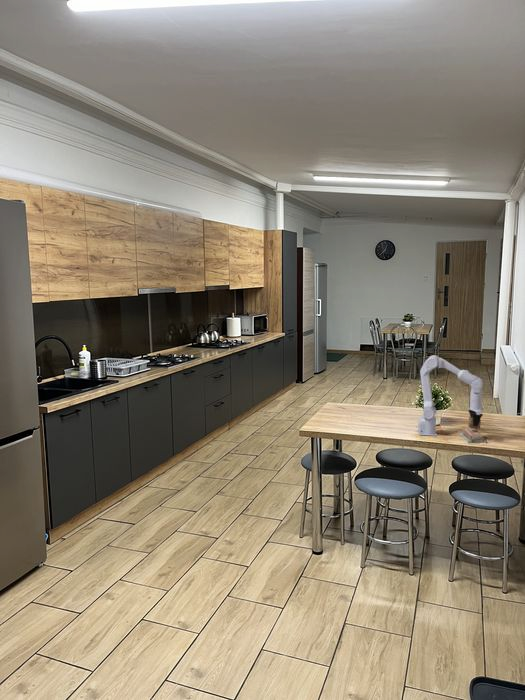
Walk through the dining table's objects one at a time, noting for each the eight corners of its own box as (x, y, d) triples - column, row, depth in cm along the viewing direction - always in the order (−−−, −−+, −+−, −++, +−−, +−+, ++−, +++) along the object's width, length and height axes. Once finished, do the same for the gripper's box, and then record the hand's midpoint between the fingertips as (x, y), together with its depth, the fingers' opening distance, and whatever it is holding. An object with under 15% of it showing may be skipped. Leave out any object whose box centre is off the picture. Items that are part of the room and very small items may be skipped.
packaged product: (487, 435, 287) (468, 435, 288) (487, 444, 288) (467, 444, 289) (478, 426, 305) (459, 426, 306) (477, 435, 306) (459, 434, 307)
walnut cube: (470, 428, 294) (470, 419, 293) (468, 426, 299) (468, 417, 298) (480, 428, 293) (480, 419, 292) (478, 426, 298) (478, 417, 297)
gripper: (487, 403, 286) (485, 428, 288) (480, 397, 300) (479, 421, 302) (473, 402, 287) (471, 427, 289) (467, 397, 301) (465, 420, 303)
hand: (474, 424), depth 296 cm, fingers closed on walnut cube, 5 cm apart
